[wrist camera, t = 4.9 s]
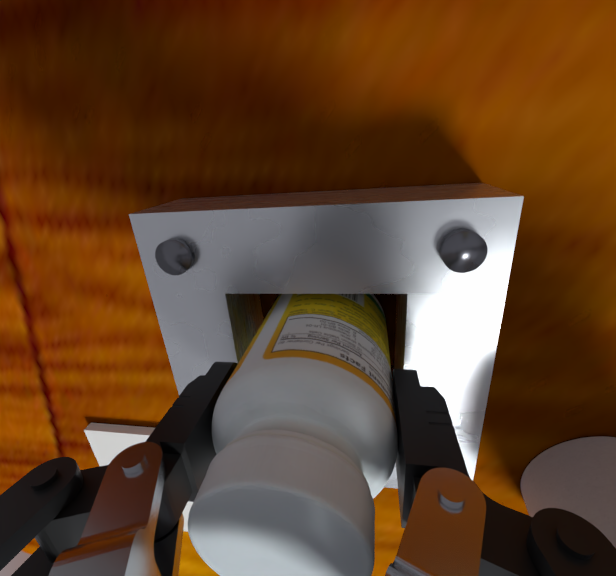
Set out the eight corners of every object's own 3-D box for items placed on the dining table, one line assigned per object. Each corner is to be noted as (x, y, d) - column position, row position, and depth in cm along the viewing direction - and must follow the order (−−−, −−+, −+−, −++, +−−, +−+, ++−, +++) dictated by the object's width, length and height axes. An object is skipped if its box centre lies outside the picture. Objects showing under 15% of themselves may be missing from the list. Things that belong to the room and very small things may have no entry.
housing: (482, 182, 12) (530, 198, 9) (450, 429, 17) (473, 505, 13) (181, 198, 14) (120, 216, 11) (227, 413, 19) (195, 476, 15)
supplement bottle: (347, 247, 14) (316, 420, 5) (407, 343, 15) (463, 608, 7) (249, 303, 16) (106, 501, 7) (311, 385, 17) (255, 635, 8)
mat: (223, 432, 19) (219, 441, 19) (245, 529, 23) (242, 539, 22) (91, 422, 21) (83, 429, 21) (130, 514, 25) (125, 522, 24)
